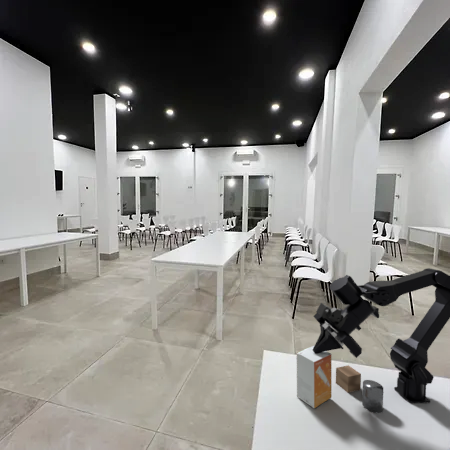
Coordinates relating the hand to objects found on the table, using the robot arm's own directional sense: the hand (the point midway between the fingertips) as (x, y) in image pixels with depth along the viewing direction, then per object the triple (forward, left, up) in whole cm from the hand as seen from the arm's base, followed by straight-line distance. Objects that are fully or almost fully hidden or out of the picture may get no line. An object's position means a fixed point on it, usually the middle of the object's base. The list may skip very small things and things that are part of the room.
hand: (313, 351), depth 75 cm
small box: (-1, 0, -14) cm, 14 cm away
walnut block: (-14, -5, -14) cm, 20 cm away
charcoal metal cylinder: (-16, +4, -14) cm, 21 cm away
